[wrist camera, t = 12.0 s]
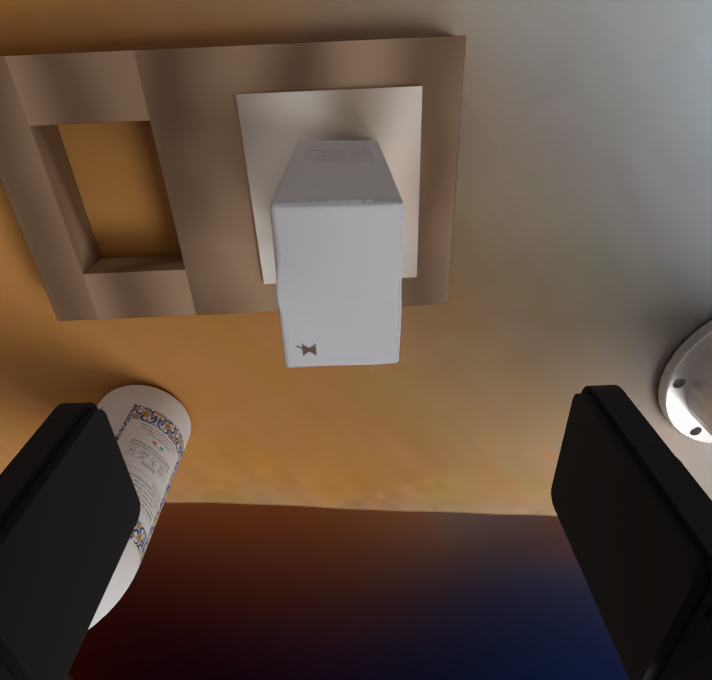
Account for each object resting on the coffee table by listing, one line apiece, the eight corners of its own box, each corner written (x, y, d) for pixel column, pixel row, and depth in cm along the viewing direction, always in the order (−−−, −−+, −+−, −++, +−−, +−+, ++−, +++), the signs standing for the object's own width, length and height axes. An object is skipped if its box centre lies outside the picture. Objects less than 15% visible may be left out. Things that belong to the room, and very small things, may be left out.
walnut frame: (455, 36, 25) (467, 35, 22) (440, 286, 32) (448, 306, 30) (-16, 57, 25) (-54, 58, 22) (77, 302, 32) (55, 323, 30)
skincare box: (379, 249, 28) (400, 369, 17) (304, 250, 28) (281, 372, 17) (380, 134, 25) (408, 200, 14) (295, 136, 24) (262, 203, 14)
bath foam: (116, 453, 39) (-60, 770, 22) (86, 383, 36) (-151, 699, 18) (202, 448, 39) (92, 762, 22) (181, 378, 35) (31, 689, 18)
